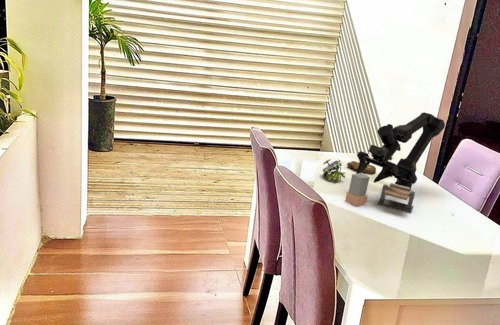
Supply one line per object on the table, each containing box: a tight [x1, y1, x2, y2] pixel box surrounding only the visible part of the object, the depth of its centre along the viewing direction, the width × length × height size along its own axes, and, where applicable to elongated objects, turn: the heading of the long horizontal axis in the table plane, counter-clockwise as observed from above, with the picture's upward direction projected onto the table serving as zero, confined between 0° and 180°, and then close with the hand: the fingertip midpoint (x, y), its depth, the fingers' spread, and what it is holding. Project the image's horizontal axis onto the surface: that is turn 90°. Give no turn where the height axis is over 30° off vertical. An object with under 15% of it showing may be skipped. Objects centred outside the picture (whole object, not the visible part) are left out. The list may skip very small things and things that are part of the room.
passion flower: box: [321, 158, 346, 182], centre depth 220 cm, size 11×11×12 cm
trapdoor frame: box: [376, 183, 416, 214], centre depth 195 cm, size 7×14×8 cm, turn 65°
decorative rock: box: [346, 160, 377, 175], centre depth 241 cm, size 11×4×15 cm
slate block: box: [348, 172, 370, 197], centre depth 192 cm, size 5×5×8 cm
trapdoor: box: [384, 182, 411, 201], centre depth 191 cm, size 13×9×2 cm
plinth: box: [344, 191, 368, 207], centre depth 194 cm, size 6×6×4 cm
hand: (365, 178), depth 193 cm, fingers open, 9 cm apart
